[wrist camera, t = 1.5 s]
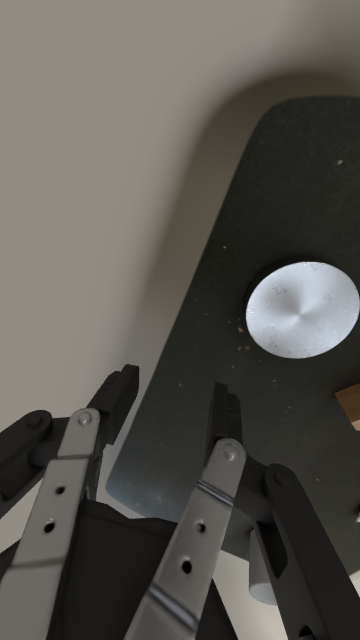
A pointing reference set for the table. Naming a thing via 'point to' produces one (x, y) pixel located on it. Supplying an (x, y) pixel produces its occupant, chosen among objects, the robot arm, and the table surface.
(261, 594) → the cup
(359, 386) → the corner fence
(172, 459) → the table surface
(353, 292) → the white-topped round disc
